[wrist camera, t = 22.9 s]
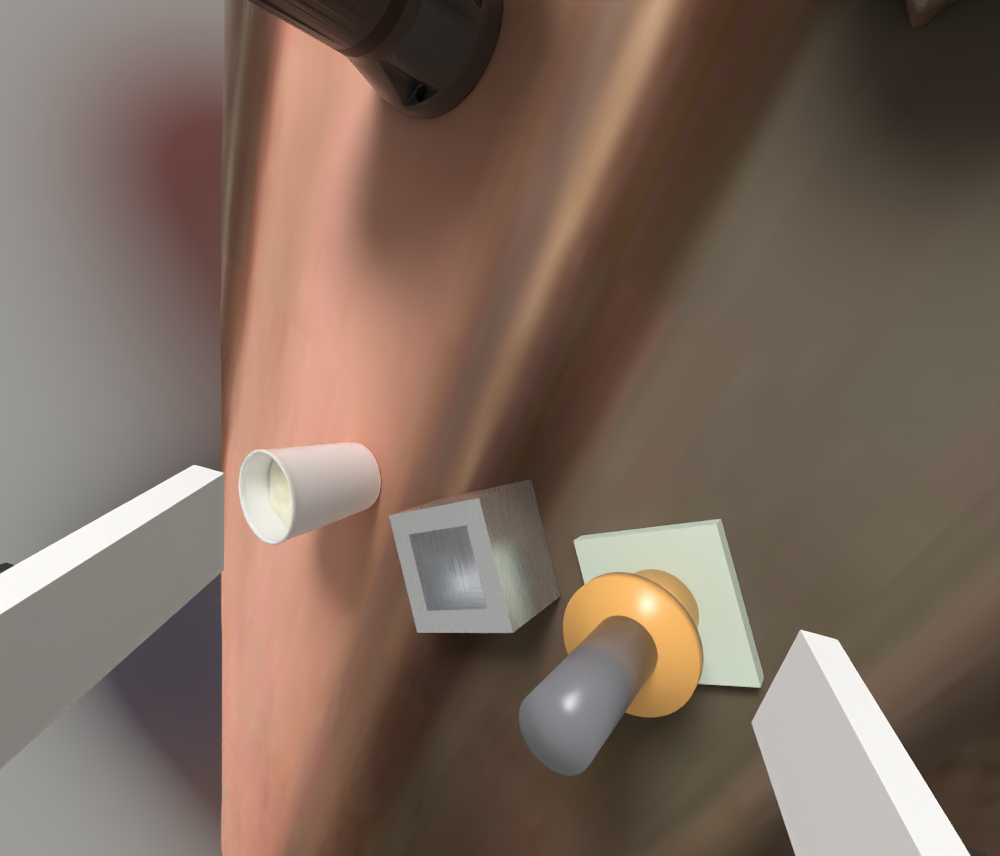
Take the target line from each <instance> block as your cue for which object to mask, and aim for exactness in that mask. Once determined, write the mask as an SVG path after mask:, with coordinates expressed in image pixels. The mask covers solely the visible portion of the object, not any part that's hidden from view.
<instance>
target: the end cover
mask: <svg viewBox="0 0 1000 856" xmlns="http://www.w3.org/2000/svg"><path fill="white" fill-rule="evenodd" d="M698 624H699V610H698V605H697V602H696V600H695V598H694V596H693V594H692V593H691V591H690V590H689V589H688V587H687V586H686V585H685V584H684V583H683V582H682V581H681V580H679V579H678V578H677V577H675V576H673V575H672V574H670V573H667V572H665V571H661V570H656V569H646V570H641V571H638V572H636V573H634V574H632V573H626V572H612V573H606V574H603V575H599V576H597V577H595V578H593V579H592V580H590V581H589V582H587V583H586V584H585V585H584V586H582V587H581V588H580V589H579V590H578V591H577V592H576V593H575V594H574V595H573V597H572V598H571V599H570V601H569V603H568V605H567V608H566V611H565V614H564V620H563V636H564V642H565V647H566V650H567V653H568V656H567V657H566V658H565V659H564V660H563V661H562V662H561V663H560V664H559V665H558V666H557V667H556V668H555V669H554V670H553V671H552V672H551V673H550V674H549V675H548V676H547V677H546V678H545V679H544V680H543V681H542V682H541V683H540V684H539V685H538V686H537V687H536V688H535V689H534V690H533V691H532V692H531V693H530V694H529V695H528V696H527V697H526V698H525V699H524V700H523V702H522V704H521V706H520V710H519V724H520V729H521V732H522V735H523V738H524V740H525V742H526V744H527V746H528V747H529V749H530V750H531V752H532V753H533V754H534V755H535V757H536V758H537V759H538V760H539V761H540V762H541V763H542V764H544V765H545V766H546V767H548V768H549V769H551V770H553V771H555V772H557V773H559V774H563V775H577V774H580V773H582V772H583V771H585V770H586V769H587V767H588V766H589V765H590V763H591V762H592V760H593V759H594V757H595V756H596V754H597V753H598V751H599V750H600V748H601V747H602V746H603V744H604V743H605V741H606V740H607V738H608V737H609V735H610V734H611V732H612V731H613V729H614V728H615V726H616V725H617V723H618V722H619V721H620V719H621V718H622V716H623V715H624V713H628V714H631V715H634V716H640V717H661V716H665V715H668V714H671V713H673V712H675V711H677V710H678V709H679V708H681V707H682V706H683V705H684V704H685V703H686V702H687V701H688V700H689V698H690V697H691V695H692V694H693V692H694V690H695V688H696V686H697V684H698V682H699V680H700V677H701V674H702V670H703V662H704V656H703V647H702V642H701V638H700V635H699V632H698V630H697V628H698Z"/></svg>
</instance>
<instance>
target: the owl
mask: <svg viewBox="0 0 1000 856" xmlns="http://www.w3.org/2000/svg"><path fill="white" fill-rule="evenodd" d="M904 1H905V2H906V3H905V6H906V10H907V15H908V17H909V19H910V23H911V26H912V27H913V28H914V29H915V30H918V29H920V28H922V27H923V26H924V25H926V24H927V23H928V22H929V21H930V20H931V19H932V18H934V17H935V16H936V15H937V14H938V13H940V12H941V11H942V10H944V9H945V8H947V7H948V6H950V5H951V4H952V3H954V2H955V1H956V0H904Z"/></svg>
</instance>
